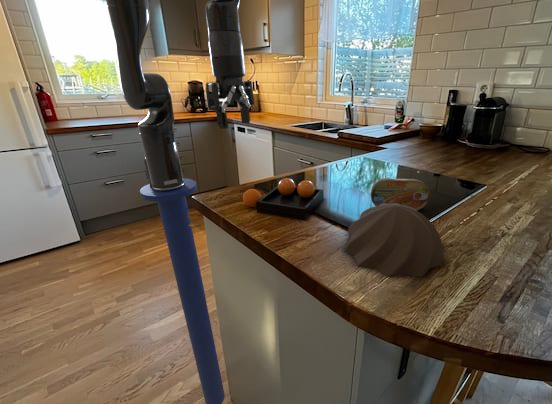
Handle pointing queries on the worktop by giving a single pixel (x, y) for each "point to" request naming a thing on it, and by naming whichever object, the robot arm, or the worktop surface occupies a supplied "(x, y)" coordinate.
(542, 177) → the worktop surface
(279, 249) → the worktop surface
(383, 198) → the tin
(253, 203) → the clementine
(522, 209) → the worktop surface
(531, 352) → the worktop surface
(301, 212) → the tray
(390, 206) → the decorative dome
